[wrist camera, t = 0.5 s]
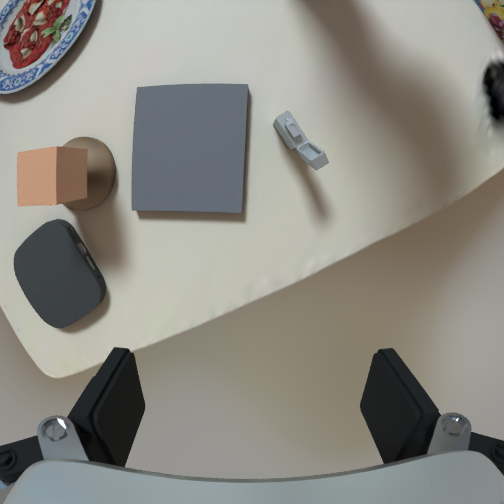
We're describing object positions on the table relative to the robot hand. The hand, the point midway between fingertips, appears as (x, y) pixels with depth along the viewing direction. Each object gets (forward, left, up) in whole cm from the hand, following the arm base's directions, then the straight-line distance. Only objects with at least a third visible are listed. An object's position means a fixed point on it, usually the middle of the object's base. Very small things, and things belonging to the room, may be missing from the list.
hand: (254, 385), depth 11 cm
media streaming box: (+7, -29, -30) cm, 42 cm away
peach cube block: (-8, -23, -25) cm, 35 cm away
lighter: (-12, +5, -30) cm, 32 cm away
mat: (-11, -8, -29) cm, 32 cm away
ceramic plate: (-35, -37, -30) cm, 59 cm away
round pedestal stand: (-8, -23, -29) cm, 38 cm away
